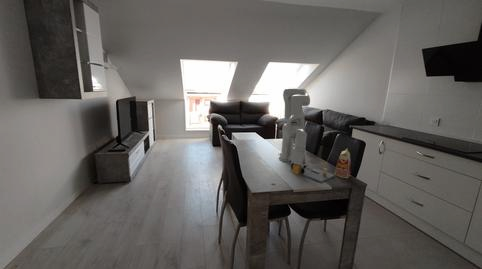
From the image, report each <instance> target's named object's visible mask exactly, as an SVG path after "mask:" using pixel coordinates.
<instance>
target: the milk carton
mask: <svg viewBox="0 0 482 269" xmlns="http://www.w3.org/2000/svg"><path fill="white" fill-rule="evenodd" d="M333 175H335V177H336V176H337V177H338V178H339V177H340V178H344V179H348V178H349V177H350V176H351V152H350V151H349V150H348V148H346V149H345V150H342V151H341V153H340V155H339V156H338V159H337V164H336V166H335V171H334V173H333Z"/></svg>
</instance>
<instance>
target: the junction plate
mask: <svg viewBox="0 0 482 269" xmlns="http://www.w3.org/2000/svg"><path fill="white" fill-rule="evenodd" d="M300 176H302V177H305V178H307V177H308V179H311V180H312V179H313V181H315V182H317V181H318V182H317V183H320V184H322V183H324V182H327V181H329V180H331V179H333V178H335V177H336V175H334V173H331V172H328V168H326V167H324V168H323V170H322V169H320V168H316V167H315V168H312V169H309V170H307V171H306V170H305V172H304V173H302V174H300Z"/></svg>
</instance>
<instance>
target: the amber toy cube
mask: <svg viewBox="0 0 482 269" xmlns="http://www.w3.org/2000/svg"><path fill="white" fill-rule="evenodd" d="M301 168H302V166H301V165H298V164H295V163H294V165H293V169H292V170H291V171H292V172H291V173H293V174H295V175H301Z"/></svg>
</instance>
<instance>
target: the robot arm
mask: <svg viewBox="0 0 482 269" xmlns="http://www.w3.org/2000/svg"><path fill="white" fill-rule="evenodd" d="M282 98H283V101H284V102H283V103H284V120H285V121H286V123H283V125H282V142H281V143H282V144H281V152H278V156H279V157H278V159H279V160H280V161H281V162H285V163H290V170H291V171H293V165H294V164H298V165H301V166H302V168H301V174H302V173H304V172H306V168H307V167H308V166H309V165H310V164H309V162H308V161H307V152H306V147H307V146H306V144H307V138H308V137H307V136H308V133H307V132H306V131H305V113H304V111H303V107H308V106H309V105H310V103H311V98H310V95H309V93H308V91H307V90H306V89H305V88H301V87H286V88H284V89H283V93H282ZM301 174H300V175H301Z"/></svg>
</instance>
